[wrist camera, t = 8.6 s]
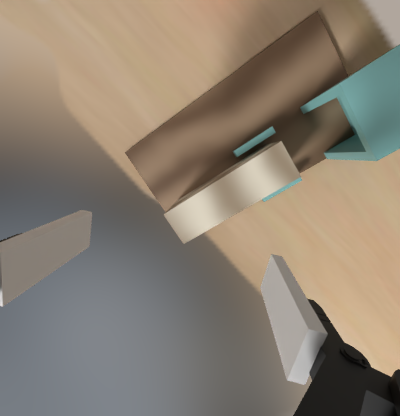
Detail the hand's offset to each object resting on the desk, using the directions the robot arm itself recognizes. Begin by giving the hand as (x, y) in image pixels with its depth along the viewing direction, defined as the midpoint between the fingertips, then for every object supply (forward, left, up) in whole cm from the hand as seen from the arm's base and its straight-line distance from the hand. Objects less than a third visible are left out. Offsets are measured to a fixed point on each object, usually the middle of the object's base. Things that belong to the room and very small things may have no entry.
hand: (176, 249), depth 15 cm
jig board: (-4, +9, -17) cm, 19 cm away
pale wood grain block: (0, +4, -16) cm, 16 cm away
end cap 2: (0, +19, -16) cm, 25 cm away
